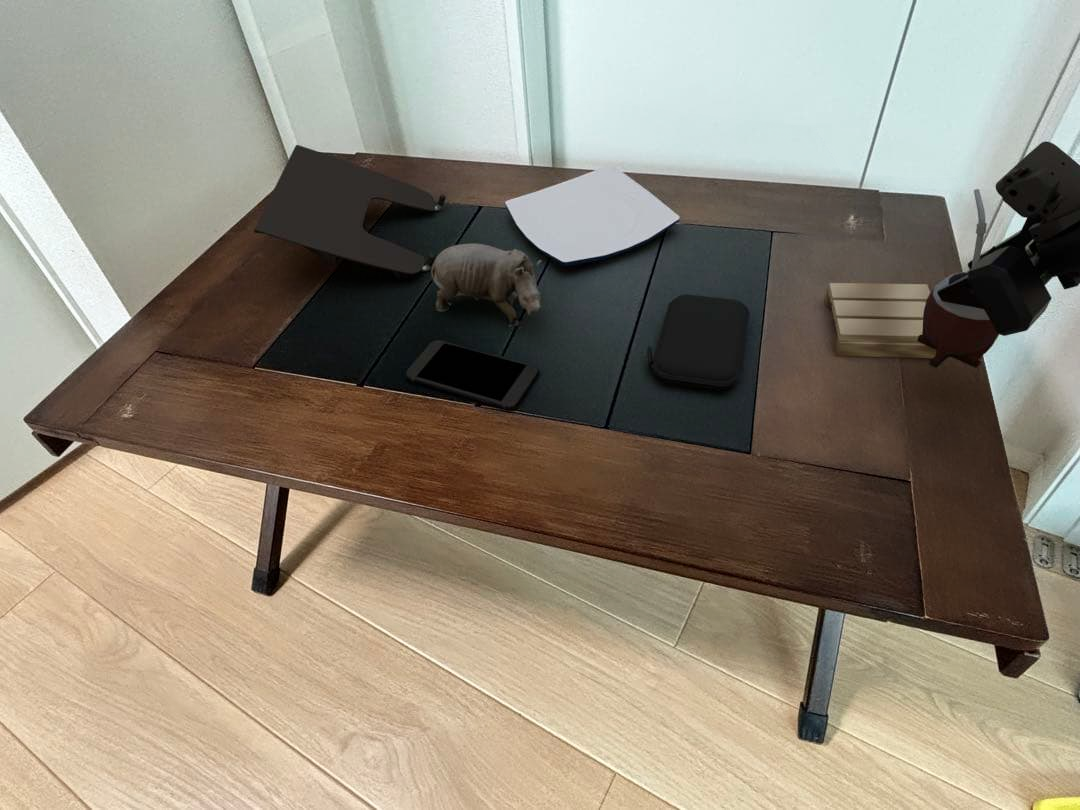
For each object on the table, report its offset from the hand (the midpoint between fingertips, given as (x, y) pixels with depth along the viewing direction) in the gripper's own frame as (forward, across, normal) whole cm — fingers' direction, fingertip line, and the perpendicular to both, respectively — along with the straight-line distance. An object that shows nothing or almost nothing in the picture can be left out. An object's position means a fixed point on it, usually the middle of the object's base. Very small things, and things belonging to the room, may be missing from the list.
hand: (955, 281), depth 68 cm
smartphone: (+35, +33, -17) cm, 51 cm away
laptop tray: (+59, +25, -41) cm, 76 cm away
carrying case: (+24, +12, -5) cm, 27 cm away
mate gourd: (+5, 0, +7) cm, 8 cm away
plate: (+44, +1, -25) cm, 50 cm away
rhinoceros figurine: (+40, +23, -22) cm, 51 cm away
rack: (+15, -5, +4) cm, 16 cm away
